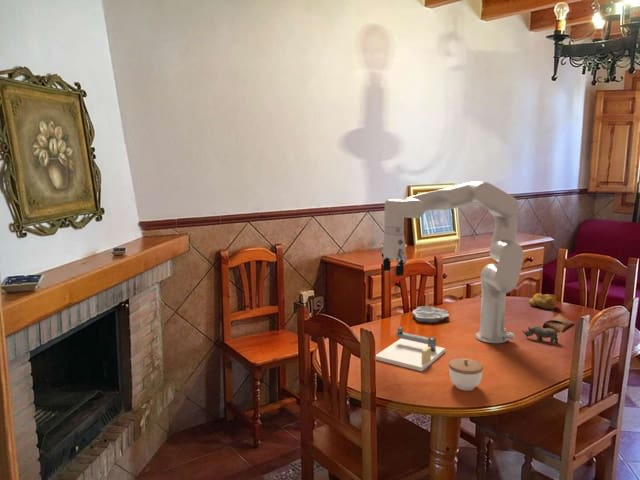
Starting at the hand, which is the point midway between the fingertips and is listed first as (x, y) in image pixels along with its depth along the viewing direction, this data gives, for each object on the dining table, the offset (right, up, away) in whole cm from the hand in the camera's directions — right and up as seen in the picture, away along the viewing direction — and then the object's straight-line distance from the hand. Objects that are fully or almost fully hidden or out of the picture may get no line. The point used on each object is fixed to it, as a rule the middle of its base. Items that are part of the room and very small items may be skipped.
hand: (393, 272), depth 201 cm
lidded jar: (+19, -36, -35) cm, 53 cm away
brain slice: (+23, -24, +37) cm, 50 cm away
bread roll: (+83, -21, +53) cm, 101 cm away
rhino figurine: (+62, -29, +7) cm, 68 cm away
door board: (+5, -31, -9) cm, 33 cm away
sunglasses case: (+78, -26, +24) cm, 86 cm away
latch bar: (+8, -28, -4) cm, 30 cm away
